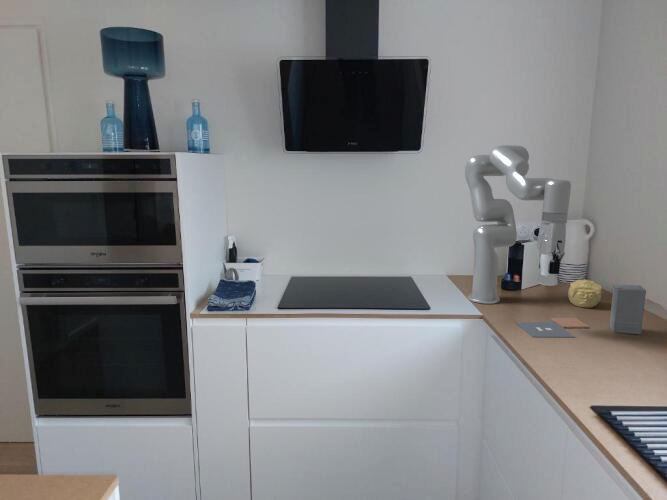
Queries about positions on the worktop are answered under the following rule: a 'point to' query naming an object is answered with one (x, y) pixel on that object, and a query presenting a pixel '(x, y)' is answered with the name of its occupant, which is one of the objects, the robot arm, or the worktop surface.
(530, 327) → the blue-grey tile
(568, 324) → the coaster
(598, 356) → the worktop surface
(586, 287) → the sculpture
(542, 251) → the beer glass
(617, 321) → the skincare box
